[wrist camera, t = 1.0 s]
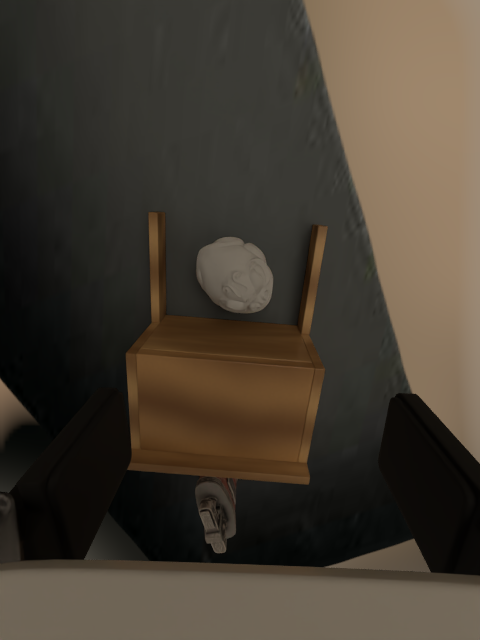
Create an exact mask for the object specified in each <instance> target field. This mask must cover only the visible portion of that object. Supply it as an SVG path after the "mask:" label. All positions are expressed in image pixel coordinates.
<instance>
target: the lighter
mask: <svg viewBox="0 0 480 640" xmlns="http://www.w3.org/2000/svg"><path fill="white" fill-rule="evenodd" d="M237 480H238V479H235V478H223V477H210V476H200V478H199V480H198V481H197V484H196V489H195V494H196V502H197V506H198V509H199V514H200V517H201V519H202V522H203V524H204V527H205V528H204V530H205V540H206V542H207V543H211V544H212V547H213V549H214V551H215V552H216V553H223V552H225V551H226V542H227V538H230V537H232V536H234V534H235V532H236V516H235V503H236V481H237Z"/></svg>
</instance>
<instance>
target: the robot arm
mask: <svg viewBox="0 0 480 640" xmlns="http://www.w3.org/2000/svg"><path fill="white" fill-rule="evenodd" d="M131 458H132V450H131V443H130V437H129V430H128V424H127V417H126V411H125V404H124V398H123V394H122V393H121V392H118V390H117V388H98V389H97V390H96V391H95V393H94V394H93V395H92V396H91V397H90V398H89V399H88V401H87V402H86V403H85V404H84V405H83V406H82V408H81V409H80V410H79V411H78V412H77V413H76V415H75V416H74V417H73V418H72V419H71V420H70V422H69V423H68V424H67V425H66V426H65V427H64V429H63V430H62V431H61V432H60V433H59V434H58V436H57V437H56V438H55V439H54V440H53V441H52V443H51V444H50V445H49V446H48V447H47V448H46V450H45V451H44V452H43V453H42V454H41V455H40V457H39V458H38V459H37V460H36V461H35V462H34V464H33V465H32V466H31V467H30V468H29V469H28V470H27V472H26V473H25V474H24V475H23V476H22V477H21V479H20V480H19V481H18V482H17V484H16V485H15V487H14V488H13V489H12V490H11V491H10V492H9V493H7V492H0V640H480V464H479V462H478V461H477V460H476V459H475V458H474V457H473V456H472V455H471V454H470V452H469V451H468V450H467V449H466V448H465V447H464V446H463V445H462V444H461V443H460V441H459V440H458V439H457V438H456V437H455V436H454V435H453V434H452V433H451V431H450V430H449V429H448V428H447V427H446V426H445V425H444V424H443V423H442V422H441V421H440V419H439V418H438V417H437V416H436V415H435V414H434V413H433V412H432V410H431V409H430V408H429V407H428V406H427V405H426V404H425V403H424V402H423V401H422V399H421V398H420V397H419V396H418V395H416V394H405V393H398V394H396V396H395V398H391V399H390V403H389V408H388V413H387V418H386V423H385V428H384V433H383V438H382V443H381V448H380V453H379V458H378V463H379V468H380V471H381V473H382V475H383V477H384V479H385V481H386V483H387V485H388V487H389V489H390V491H391V493H392V495H393V497H394V499H395V501H396V503H397V505H398V507H399V509H400V511H401V513H402V515H403V517H404V519H405V521H406V523H407V525H408V527H409V529H410V531H411V533H412V535H413V537H414V539H415V541H416V543H417V545H418V547H419V549H420V551H421V553H422V555H423V557H424V559H425V561H426V563H427V565H428V567H429V569H430V571H431V573H429V572H413V571H391V570H369V569H368V570H367V569H346V568H323V567H298V566H272V565H245V564H218V563H188V562H156V561H123V560H84V558H85V556H86V554H87V552H88V550H89V548H90V546H91V544H92V542H93V540H94V538H95V535H96V533H97V531H98V529H99V527H100V525H101V523H102V521H103V519H104V517H105V515H106V512H107V510H108V508H109V506H110V504H111V502H112V500H113V498H114V496H115V494H116V492H117V489H118V487H119V485H120V483H121V481H122V479H123V477H124V475H125V473H126V471H127V469H128V466H129V464H130V462H131Z"/></svg>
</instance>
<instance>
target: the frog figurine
mask: <svg viewBox="0 0 480 640" xmlns="http://www.w3.org/2000/svg"><path fill="white" fill-rule="evenodd" d="M196 276H197V279H198V282H199V283H200V285H201V287H202V289H203V290H204V291H205V292H206V293H207V294H208V296H209V297H210V298H211V300H212V301H213V302H214V303H216V304H217V305H219V306H221V307H222V308H223V309H225V310H228V311H231V312H235V313H244V314H246V313H254V312H258V311H260V310H262V309H263V308H265V307H266V305H267V304H268V303H269V301H270V299H271V295H272V288H273V275H272V272H271V270H270V268H269V267H268V266H267V265H266V259H265V256H264V254H263V253H262V251H261V250H260V249H259V248H258V247H256V246H255V245H254V244H252V243H247V244H244V242H243V241H242V240H241V239H239V238H235V237H224V238H220V239H218V240H216V241H215V242H214V243H212V244H209V245H207V246H205V247H203V248H202V249H200V250H199V253H198V256H197V262H196Z"/></svg>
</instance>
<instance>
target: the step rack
mask: <svg viewBox="0 0 480 640" xmlns="http://www.w3.org/2000/svg"><path fill="white" fill-rule="evenodd" d="M327 228H328V227H327V226H323V225H313V227H312V233H311V240H310V246H309V253H308V259H307V266H306V272H305V279H304V286H303V292H302V299H301V305H300V312H299V318H298V326H297V325H285V324H273V323H261V322H249V321H236V320H224V319H212V318H199V317H187V316H175V315H166V250H165V213H164V212H149V248H150V283H151V318H152V323H151V324H150V325H149V326H148V328H147V329H146V330H145V331H144V332H143V334H142V335H141V336H140V337H139V338H138V339H137V341H136V342H135V343H134V344H133V345H132V346H131V348H130V349H129V350H128V351H127V352H126V366H127V382H128V398H129V414H130V430H131V446H132V449H131V450H132V458H131V462H130V464H129V466H128V469H127V470H137V471H149V472H161V473H174V474H186V475H198V476H210V477H223V478H235V479H247V480H259V481H271V482H284V483H296V484H309V480H310V476H309V471H308V467H307V458H308V453H309V448H310V443H311V438H312V433H313V428H314V423H315V418H316V413H317V408H318V403H319V398H320V393H321V388H322V383H323V378H324V373H325V368H324V366H323V364H322V362H321V360H320V358H319V356H318V353H317V351H316V349H315V347H314V345H313V343H312V341H311V338H310V336H309V334H310V328H311V322H312V316H313V310H314V304H315V299H316V293H317V287H318V281H319V275H320V269H321V263H322V257H323V251H324V246H325V240H326V234H327Z"/></svg>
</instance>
